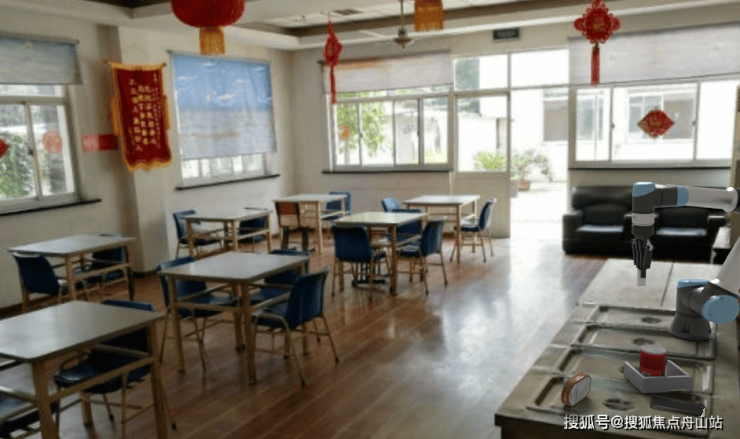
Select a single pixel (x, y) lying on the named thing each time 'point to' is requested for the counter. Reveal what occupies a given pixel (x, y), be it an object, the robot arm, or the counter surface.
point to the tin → (576, 389)
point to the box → (659, 379)
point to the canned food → (652, 361)
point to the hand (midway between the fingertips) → (641, 285)
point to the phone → (676, 405)
